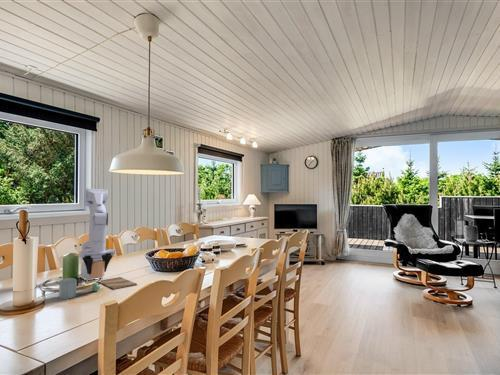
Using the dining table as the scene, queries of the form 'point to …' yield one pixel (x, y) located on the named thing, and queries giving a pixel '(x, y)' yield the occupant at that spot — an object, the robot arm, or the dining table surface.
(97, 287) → the green ball
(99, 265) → the terracotta cup
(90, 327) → the dining table surface
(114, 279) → the walnut board
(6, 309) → the dining table surface
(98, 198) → the robot arm
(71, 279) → the slate blue cup
